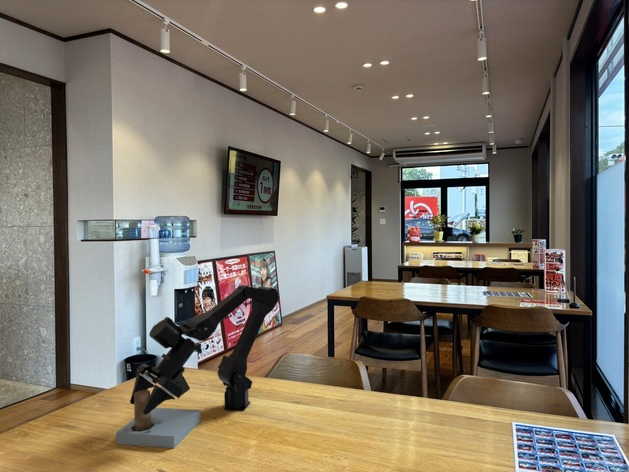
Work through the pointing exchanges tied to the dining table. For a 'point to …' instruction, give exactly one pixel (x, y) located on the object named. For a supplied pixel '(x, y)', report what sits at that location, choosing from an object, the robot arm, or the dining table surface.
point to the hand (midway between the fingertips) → (137, 408)
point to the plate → (161, 428)
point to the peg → (141, 411)
